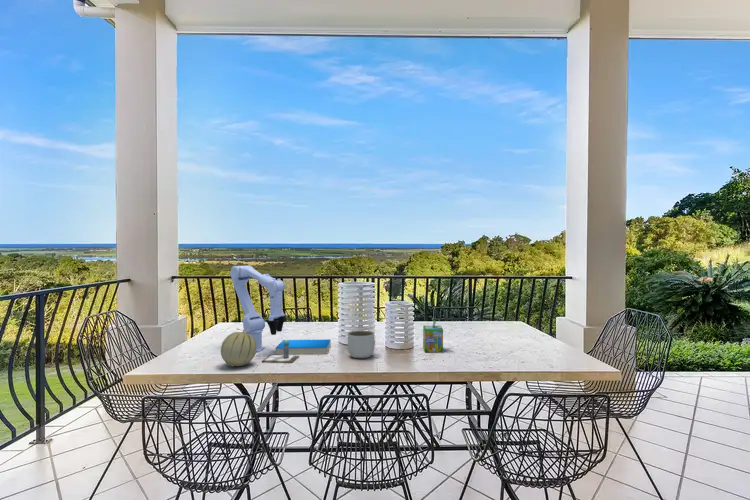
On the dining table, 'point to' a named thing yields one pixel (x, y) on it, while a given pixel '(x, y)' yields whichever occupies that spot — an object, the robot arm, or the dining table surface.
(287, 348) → the marker
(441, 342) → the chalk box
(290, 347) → the book
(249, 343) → the cantaloupe
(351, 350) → the planter
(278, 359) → the clipboard
